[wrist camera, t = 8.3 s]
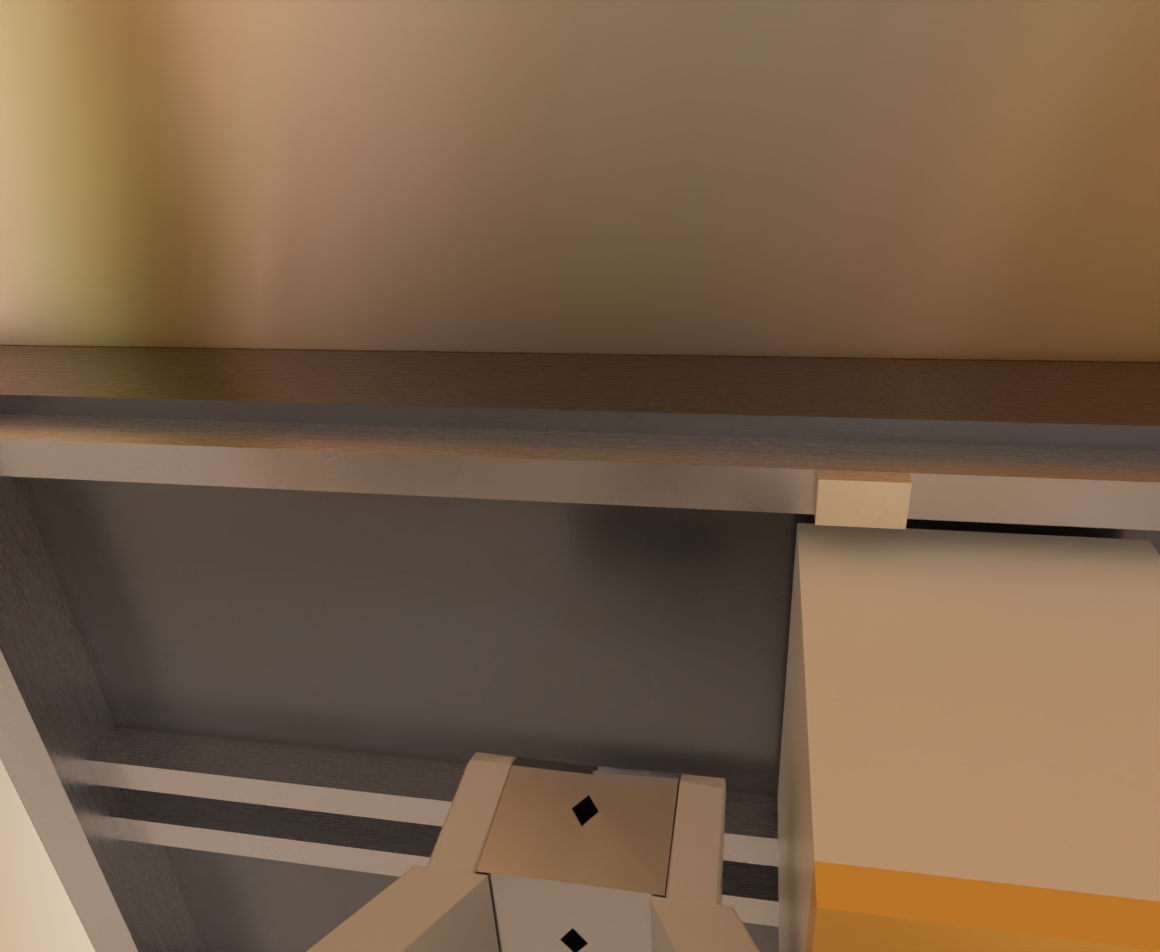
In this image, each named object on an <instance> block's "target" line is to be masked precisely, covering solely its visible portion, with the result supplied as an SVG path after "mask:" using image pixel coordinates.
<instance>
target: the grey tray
mask: <svg viewBox="0 0 1160 952" xmlns="http://www.w3.org/2000/svg"><path fill="white" fill-rule="evenodd" d="M797 523H808V524H815V525H826V526H847V527H867V528H887V529H906V528H910V529H930V530H950V531H971V532H991V533H1011V534H1032V535H1052V536H1073V537H1093V538H1113V539H1134V540H1150V542H1151V543H1152V545H1153V546H1154V547H1155V549H1156V550H1157V552H1158V553H1159V555H1160V363H1110V362H1044V361H979V360H913V359H847V358H782V357H716V356H650V355H585V354H519V353H454V352H388V351H322V350H257V349H191V348H126V347H60V346H0V758H1V760H2V762H3V764H4V766H5V769H6V771H7V773H8V775H9V777H10V778H11V781H12V783H13V785H14V787H15V789H16V791H17V793H18V795H19V797H20V799H21V801H22V803H23V805H24V807H25V809H26V811H27V813H28V815H29V817H30V819H31V821H32V823H33V825H34V827H35V829H36V831H37V834H38V836H39V837H40V840H41V841H42V843H43V846H44V848H45V850H46V852H47V854H48V856H49V858H50V860H51V862H52V864H53V866H54V868H55V870H56V872H57V874H58V876H59V878H60V880H61V882H62V884H63V886H64V888H65V890H66V892H67V894H68V896H69V899H70V901H71V903H72V905H73V907H74V908H75V911H76V913H77V915H78V917H79V919H80V921H81V923H82V925H83V927H84V929H85V931H86V933H87V935H88V937H89V939H90V941H91V943H92V945H93V947H94V949H95V951H96V952H306V951H308V950H309V949H310V948H311V947H313V946H314V945H315V944H316V943H318V942H319V941H320V940H321V939H323V938H324V937H325V936H326V935H328V934H329V933H330V932H332V931H333V930H334V929H335V928H337V927H338V926H339V925H340V924H342V923H343V922H344V921H345V920H347V919H348V918H349V917H350V916H352V915H353V914H354V913H355V912H357V911H358V910H359V909H360V908H362V907H363V906H364V905H366V904H367V903H368V902H369V901H371V900H372V899H373V898H374V897H376V896H377V895H378V894H379V893H381V892H382V891H383V890H384V889H386V888H387V887H388V886H389V885H391V884H392V883H393V882H394V881H396V880H397V879H398V878H399V877H401V876H402V875H403V874H405V873H406V872H407V871H408V870H410V869H411V868H412V867H413V866H423V867H427V865H428V862H429V860H430V857H431V855H432V852H433V850H434V847H435V844H436V842H437V839H438V837H439V834H440V832H441V829H442V827H443V824H444V822H445V819H446V817H447V814H448V812H449V809H450V806H451V804H452V801H453V799H454V796H455V794H456V791H457V789H458V786H459V784H460V781H461V779H462V776H463V774H464V771H465V769H466V766H467V763H468V762H469V761H470V759H471V758H472V757H473V756H474V754H475V753H476V752H479V753H487V754H495V755H503V756H511V757H524V758H531V759H539V760H547V761H555V762H562V763H570V764H578V765H585V766H593V767H597V766H602V767H613V768H624V769H635V770H646V771H657V772H668V773H679V774H681V775H682V774H686V775H696V776H707V777H717V778H724V779H726V804H725V834H724V863H723V893H722V905H723V906H729V907H733V908H734V910H735V911H736V913H737V915H738V916H739V918H740V920H741V921H742V923H743V925H744V926H745V928H746V930H747V931H748V933H749V935H750V936H751V938H752V940H753V941H754V943H755V945H756V946H757V948H758V950H759V951H760V952H779V897H778V783H779V769H780V755H781V741H782V727H783V713H784V699H785V685H786V671H787V657H788V644H789V630H790V616H791V602H792V588H793V574H794V560H795V546H796V532H797Z"/></svg>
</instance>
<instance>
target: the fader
mask: <svg viewBox="0 0 1160 952" xmlns="http://www.w3.org/2000/svg"><path fill="white" fill-rule="evenodd" d="M778 897H779V952H1160V555H1159V553H1158V552H1157V550H1156V549H1155V547H1154V546H1153V545H1152V543H1151V542H1150V540H1134V539H1113V538H1093V537H1073V536H1052V535H1032V534H1011V533H991V532H971V531H950V530H930V529H910V528H906V529H887V528H867V527H847V526H826V525H815V524H808V523H797V532H796V546H795V560H794V574H793V588H792V602H791V616H790V630H789V644H788V657H787V671H786V685H785V699H784V713H783V727H782V741H781V755H780V769H779V783H778Z"/></svg>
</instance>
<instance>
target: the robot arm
mask: <svg viewBox="0 0 1160 952" xmlns="http://www.w3.org/2000/svg"><path fill="white" fill-rule="evenodd" d="M725 804H726V779H724V778H717V777H707V776H696V775H686V774H682V775H681V774H679V773H668V772H657V771H646V770H635V769H624V768H613V767H602V766H597V767H593V766H585V765H578V764H570V763H562V762H555V761H547V760H539V759H531V758H524V757H511V756H503V755H495V754H487V753H479V752H476V753H475V754H474V756H473V757H472V758H471V759H470V761H469V762H468V763H467V766H466V769H465V771H464V774H463V776H462V779H461V781H460V784H459V786H458V789H457V791H456V794H455V796H454V799H453V801H452V804H451V806H450V809H449V812H448V814H447V817H446V819H445V822H444V824H443V827H442V829H441V832H440V834H439V837H438V839H437V842H436V844H435V847H434V850H433V852H432V855H431V857H430V860H429V862H428V865H427V867H423V866H413V867H412V868H411V869H410V870H408V871H407V872H406V873H405V874H403V875H402V876H401V877H399V878H398V879H397V880H396V881H394V882H393V883H392V884H391V885H389V886H388V887H387V888H386V889H384V890H383V891H382V892H381V893H379V894H378V895H377V896H376V897H374V898H373V899H372V900H371V901H369V902H368V903H367V904H366V905H364V906H363V907H362V908H360V909H359V910H358V911H357V912H355V913H354V914H353V915H352V916H350V917H349V918H348V919H347V920H345V921H344V922H343V923H342V924H340V925H339V926H338V927H337V928H335V929H334V930H333V931H332V932H330V933H329V934H328V935H326V936H325V937H324V938H323V939H321V940H320V941H319V942H318V943H316V944H315V945H314V946H313V947H311V948H310V949H309V950H308V951H306V952H760V951H759V950H758V948H757V946H756V945H755V943H754V941H753V940H752V938H751V936H750V935H749V933H748V931H747V930H746V928H745V926H744V925H743V923H742V921H741V920H740V918H739V916H738V915H737V913H736V911H735V910H734V908H733V907H729V906H723V905H722V893H723V863H724V834H725Z"/></svg>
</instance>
